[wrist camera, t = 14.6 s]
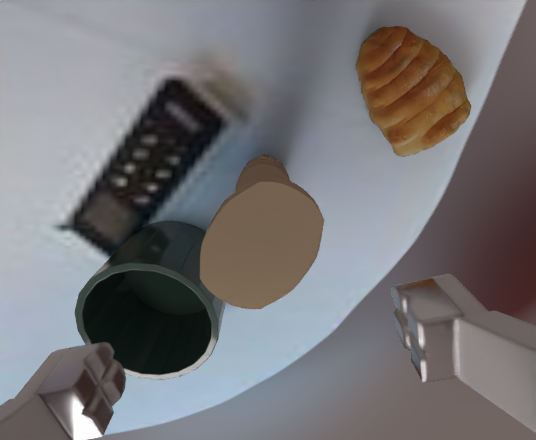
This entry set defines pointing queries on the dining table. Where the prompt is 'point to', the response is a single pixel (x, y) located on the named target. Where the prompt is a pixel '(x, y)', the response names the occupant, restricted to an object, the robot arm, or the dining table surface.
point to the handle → (261, 238)
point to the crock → (153, 303)
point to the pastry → (410, 90)
